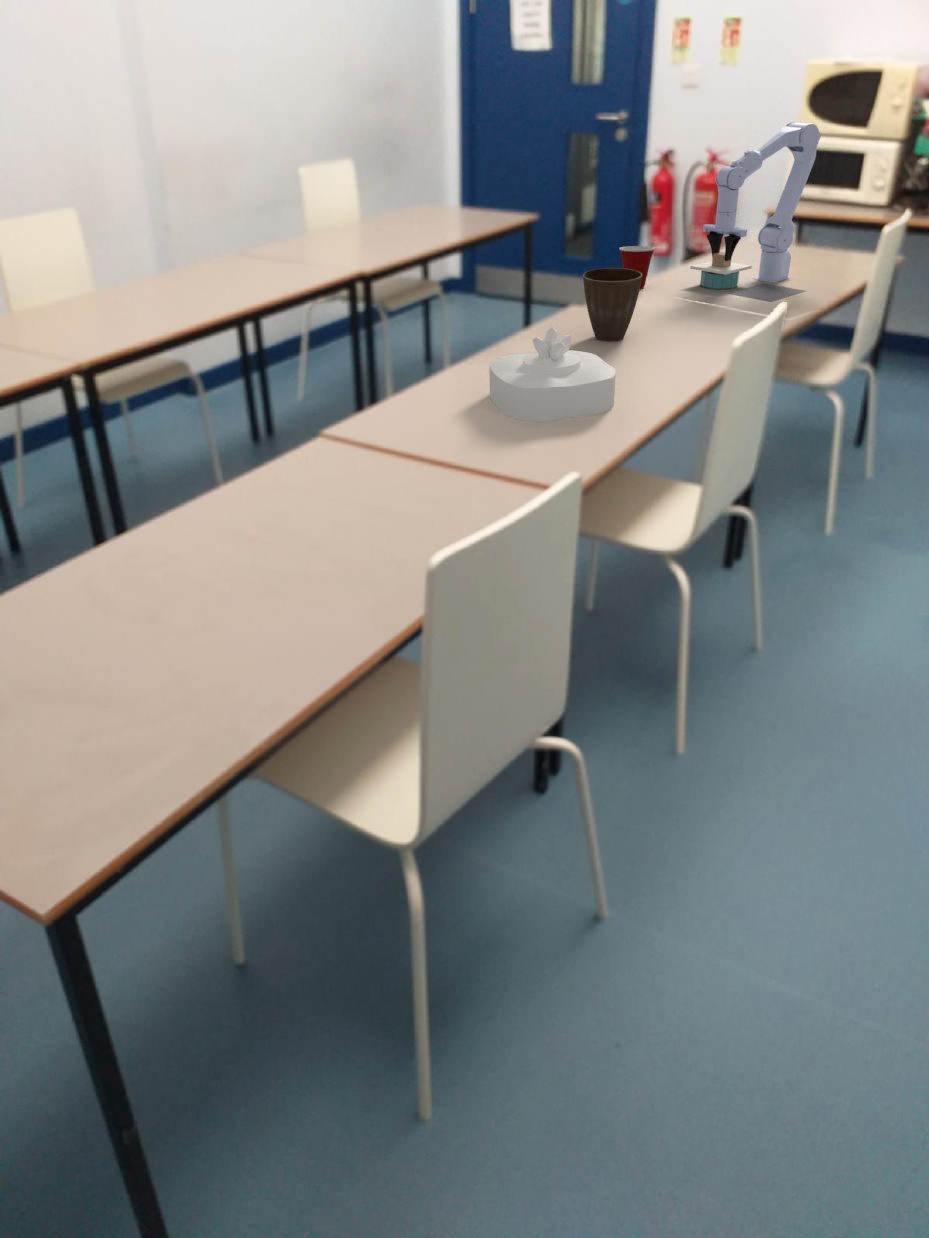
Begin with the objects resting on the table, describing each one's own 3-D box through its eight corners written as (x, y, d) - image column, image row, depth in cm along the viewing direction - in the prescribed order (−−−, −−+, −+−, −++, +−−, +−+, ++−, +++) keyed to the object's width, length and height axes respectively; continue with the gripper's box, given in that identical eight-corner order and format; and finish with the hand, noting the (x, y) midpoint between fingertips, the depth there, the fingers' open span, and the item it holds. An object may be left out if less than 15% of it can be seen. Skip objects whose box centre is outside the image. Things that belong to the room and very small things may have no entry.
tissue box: (626, 412, 205) (631, 336, 197) (513, 427, 200) (513, 349, 191) (583, 378, 226) (586, 308, 217) (480, 390, 220) (479, 319, 212)
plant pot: (644, 344, 247) (648, 279, 239) (586, 347, 247) (588, 282, 238) (631, 329, 260) (635, 266, 252) (576, 331, 260) (578, 269, 251)
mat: (763, 285, 298) (763, 283, 298) (806, 292, 288) (806, 291, 288) (727, 295, 289) (727, 293, 288) (770, 303, 279) (771, 301, 278)
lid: (716, 262, 303) (718, 248, 301) (751, 268, 295) (753, 253, 292) (690, 268, 296) (691, 254, 294) (725, 274, 287) (727, 259, 285)
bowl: (715, 282, 305) (716, 265, 302) (744, 287, 297) (746, 270, 295) (693, 288, 299) (694, 271, 296) (722, 293, 291) (724, 276, 289)
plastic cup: (651, 283, 305) (654, 243, 299) (653, 291, 296) (656, 249, 290) (616, 283, 306) (618, 243, 300) (617, 291, 297) (619, 250, 291)
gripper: (698, 210, 289) (694, 258, 296) (738, 215, 280) (733, 264, 287) (712, 207, 293) (708, 254, 300) (753, 212, 284) (747, 261, 291)
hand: (721, 259), depth 294 cm, fingers closed on lid, 4 cm apart
